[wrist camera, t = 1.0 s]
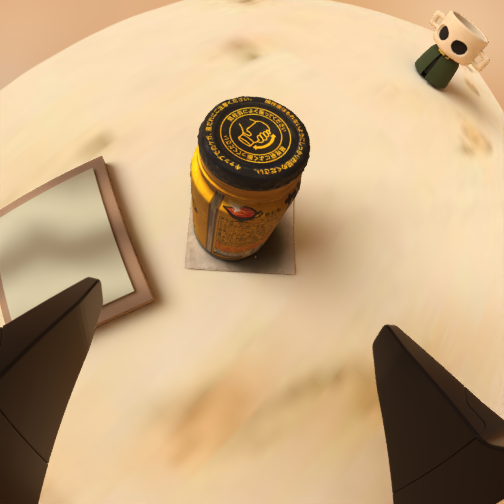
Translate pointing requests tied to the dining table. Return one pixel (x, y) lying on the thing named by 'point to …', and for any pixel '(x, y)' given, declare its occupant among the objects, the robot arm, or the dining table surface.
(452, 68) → the character mug
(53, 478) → the dining table surface
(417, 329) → the dining table surface
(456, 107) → the dining table surface
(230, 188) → the condiment
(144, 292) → the plinth
